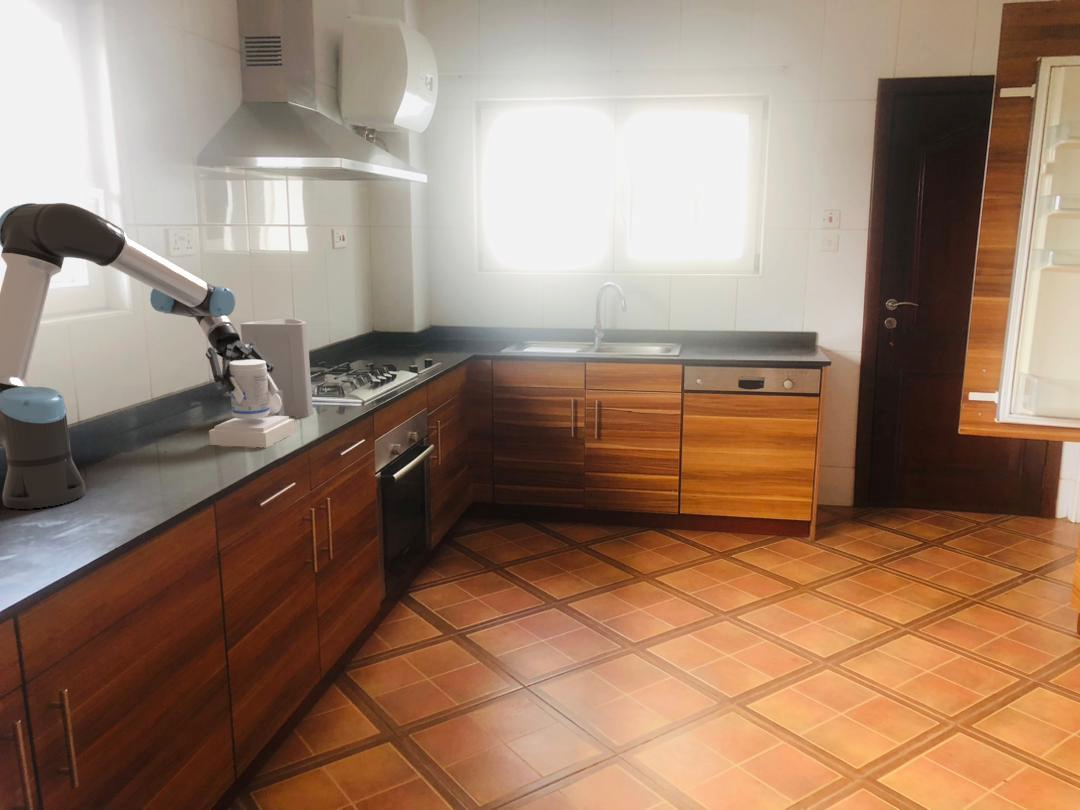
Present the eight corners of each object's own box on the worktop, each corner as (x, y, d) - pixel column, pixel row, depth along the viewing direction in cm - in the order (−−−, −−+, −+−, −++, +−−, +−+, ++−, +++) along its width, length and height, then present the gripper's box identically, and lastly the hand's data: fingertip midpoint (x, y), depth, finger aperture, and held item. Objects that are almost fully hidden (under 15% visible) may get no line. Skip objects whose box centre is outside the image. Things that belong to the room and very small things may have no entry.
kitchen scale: (266, 447, 216) (263, 404, 214) (210, 445, 219) (206, 402, 216) (303, 428, 236) (300, 388, 234) (251, 426, 239) (248, 387, 237)
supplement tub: (224, 418, 221) (219, 364, 218) (247, 411, 230) (242, 358, 226) (256, 421, 218) (251, 365, 215) (277, 413, 227) (273, 359, 223)
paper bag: (325, 406, 265) (319, 318, 259) (307, 417, 250) (301, 324, 244) (268, 405, 267) (261, 318, 261) (247, 416, 253) (239, 324, 247)
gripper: (251, 336, 237) (289, 397, 231) (177, 345, 220) (215, 412, 214) (261, 319, 233) (299, 381, 226) (185, 327, 216) (225, 394, 209)
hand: (258, 396), depth 220 cm, fingers closed on supplement tub, 9 cm apart
